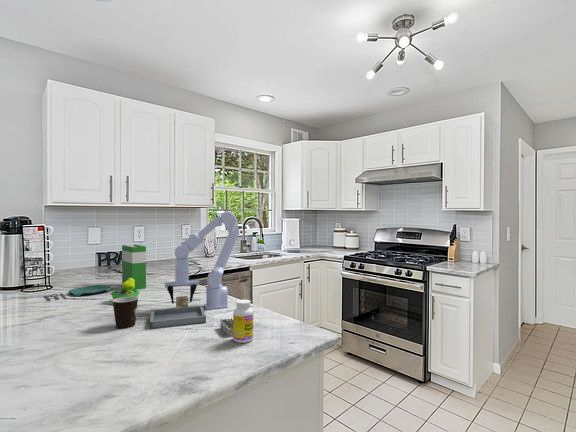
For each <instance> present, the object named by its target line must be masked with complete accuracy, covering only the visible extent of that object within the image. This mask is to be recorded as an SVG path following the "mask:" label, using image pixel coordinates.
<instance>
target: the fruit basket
mask: <svg viewBox="0 0 576 432" xmlns="http://www.w3.org/2000/svg"><path fill="white" fill-rule="evenodd" d="M121 285H122V288H123V289H122V288H119V289H117V290H114V291H111V292H110V295H111V296H112V301H113V300H114V299H116V298H121V297H138V296H139V294H140V290H133V289H134V287H135V280H134V278H128V279H127V281H125V282H124V283H123V284H121ZM138 298H139V297H138Z"/></svg>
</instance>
